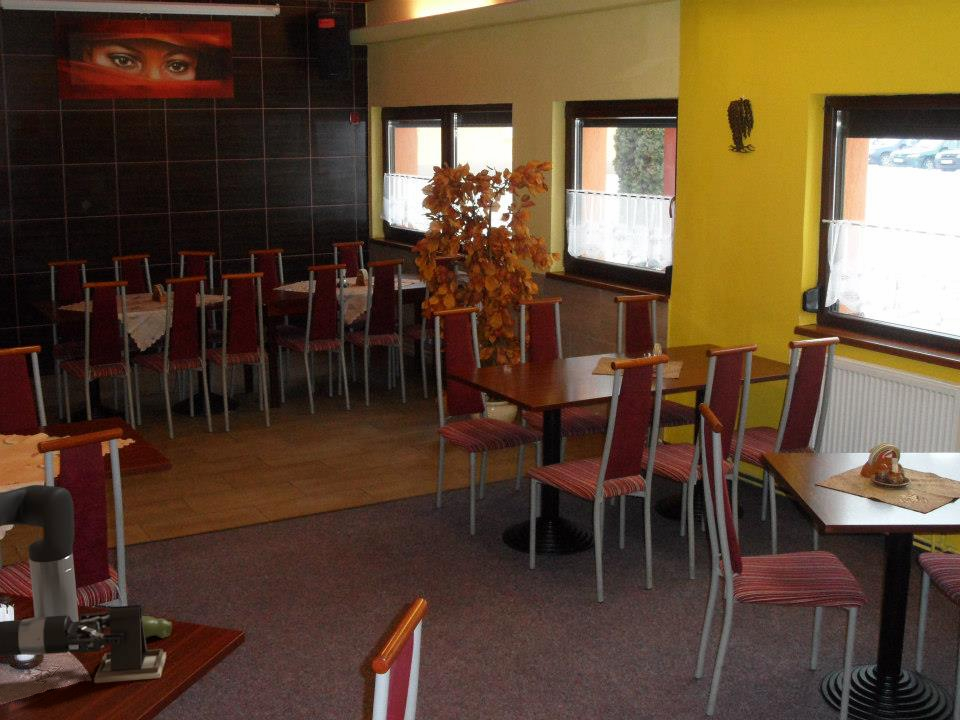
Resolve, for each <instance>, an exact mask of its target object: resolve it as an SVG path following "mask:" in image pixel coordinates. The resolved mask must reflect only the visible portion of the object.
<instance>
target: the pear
mask: <svg viewBox="0 0 960 720" xmlns="http://www.w3.org/2000/svg"><path fill="white" fill-rule="evenodd" d="M142 620H143V626H144V632H145V639H146V640H147V638H150V637H152V636H153V637H154V636H155V637H158V638H161V639H166V638H165V637H168V636H169V637H170V636H171V633H172V630H173V622H172V621H171V620H170V621H169V620H168V619H165V618H160V617H159V618H155V617H153V616H148V615H142ZM169 637H168V638H169Z"/></svg>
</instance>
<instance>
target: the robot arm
mask: <svg viewBox="0 0 960 720" xmlns="http://www.w3.org/2000/svg"><path fill="white" fill-rule="evenodd" d="M74 509H75V508H74V501H73V498H72V495H71V493H70V491H69V490H68V489H67V488H64V487H60V486H54V485H53V486H52V485H44V484H33V485H31V484H30V485H28V486H23V487H19V488H15V489H12V490H11V489H10V490H8V491H3V492H0V527H3V526H11V525H23V526H29V527H37V528H38V527H39V528H42V529H43V532H42V533H43V537H42V538H40V539H37V540H35V541H34V542H33V541H32V543H30V544H29V546H28V549H27V550H28V562H29V572H30V582H31V590H32V601H33V602H32V604H33V613H34V617H31V618H26V619H25V618H24V619H15V620H14V619H13V620H5V621H4V620H3V621H0V658H1V657H9V656H21V655H22V656H25V655H29V656H38V655H52V654H54V655H55V654H63V653H65V654H66V653H70V654H73V653H76V654H77V653H95V652H100V651H101V648H104V647H105V646H111V645H115V644H123V643H124V633H122V632H121V633H110V632H109V633H105V634H104V633H103V632H104V631H105V630H107V629H110V617H109V612H110V611H102V612H92V613H89V612H88V613H82V614H80V620H79V610H78V599H77V587H76V585H77V584H76V575H75V564H74V553H73V544H74V541H75V510H74Z"/></svg>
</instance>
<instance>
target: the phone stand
mask: <svg viewBox="0 0 960 720" xmlns="http://www.w3.org/2000/svg"><path fill="white" fill-rule="evenodd" d="M108 612H109V617H110V628H109V629H110V632H109V633H121V632H122V633H124V643H123V644H115V645H110V653H111V671H121V670H134V669H141V668H142V665H143V662H144V659H145V656H146V653H147V650H148V645H147V638H146V639H145V632H144V626H143V620H142V616H143V612H142V605H141V604H137V605H135V604H132V605H124V606H123V605H122V606H111V607H110V608H109V611H108Z"/></svg>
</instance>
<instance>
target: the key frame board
mask: <svg viewBox="0 0 960 720" xmlns="http://www.w3.org/2000/svg"><path fill="white" fill-rule="evenodd" d="M166 659H167V651H164V649H163V648H155V649H147V653H146V656H145V659H144V662H143V665H142V668H141V669H134V670H121V671H111V652H106V653H104V654H103V657H102V658H101V661H100V663H99V665H98V669H97V671H96V673H95V675H94V678H93V681H94V683H95V684H101V683H112V682H124V681H137V680H151V679H160V678H161V677H162V673H163V670H164V666H165V663H166Z"/></svg>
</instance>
